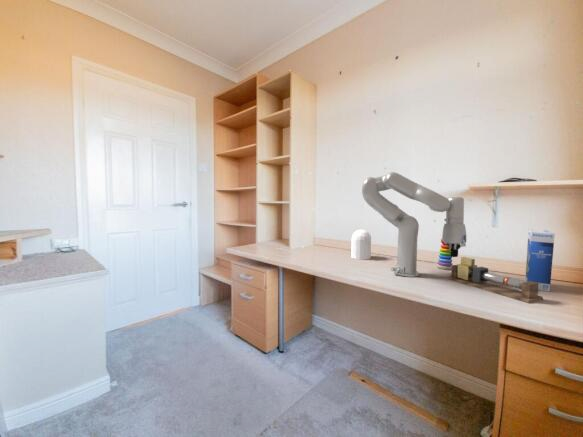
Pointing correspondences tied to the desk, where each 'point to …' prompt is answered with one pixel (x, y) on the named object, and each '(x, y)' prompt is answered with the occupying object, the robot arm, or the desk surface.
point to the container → (361, 245)
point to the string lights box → (540, 258)
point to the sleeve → (465, 268)
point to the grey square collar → (478, 274)
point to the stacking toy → (445, 257)
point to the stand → (502, 288)
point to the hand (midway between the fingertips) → (454, 256)
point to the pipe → (499, 279)
